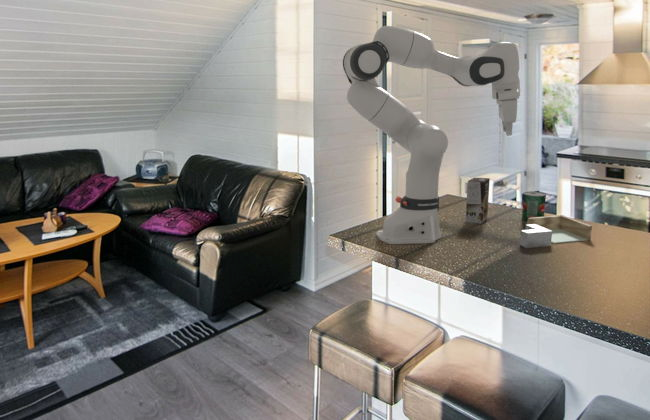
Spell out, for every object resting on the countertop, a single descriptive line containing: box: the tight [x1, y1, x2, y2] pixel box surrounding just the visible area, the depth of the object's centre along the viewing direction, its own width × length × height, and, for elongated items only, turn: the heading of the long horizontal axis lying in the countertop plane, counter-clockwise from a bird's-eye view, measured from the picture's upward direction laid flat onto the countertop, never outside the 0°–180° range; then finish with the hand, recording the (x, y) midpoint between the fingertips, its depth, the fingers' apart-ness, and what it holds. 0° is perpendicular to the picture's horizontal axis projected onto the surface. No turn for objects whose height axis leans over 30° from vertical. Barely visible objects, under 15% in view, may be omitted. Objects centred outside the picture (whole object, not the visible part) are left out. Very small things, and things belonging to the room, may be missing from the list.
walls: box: [526, 214, 593, 241], centre depth 178 cm, size 14×15×5 cm
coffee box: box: [465, 177, 490, 225], centre depth 198 cm, size 9×6×16 cm
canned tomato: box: [521, 191, 547, 224], centre depth 195 cm, size 8×8×11 cm
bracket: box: [519, 224, 552, 249], centre depth 171 cm, size 9×9×5 cm
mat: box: [549, 229, 589, 245], centre depth 179 cm, size 14×15×1 cm
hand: (507, 133), depth 177 cm, fingers open, 8 cm apart
